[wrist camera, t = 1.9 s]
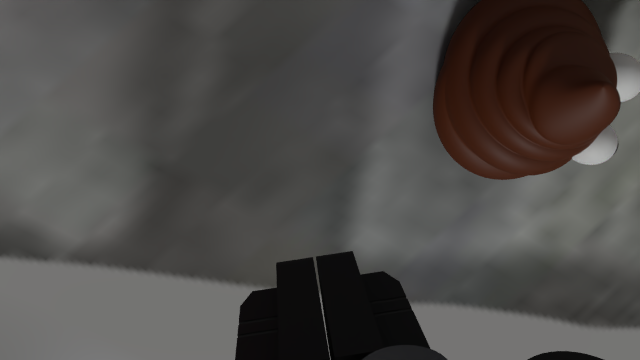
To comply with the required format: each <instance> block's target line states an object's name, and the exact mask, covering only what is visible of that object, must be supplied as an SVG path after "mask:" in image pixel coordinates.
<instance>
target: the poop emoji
mask: <svg viewBox="0 0 640 360" xmlns="http://www.w3.org/2000/svg"><path fill="white" fill-rule="evenodd" d="M638 93H640V63H639V62H638V61H637V60H636V59H635V58H633V57H631V56H629V55H627V54H623V53H609V51H608V49H607V46H606V44H605V42H604V40H603V38H602V35H601V32H600V29H599V27H598V24H597V22H596V20H595V18H594V16H593V15H592V13H591V12H590V10H589V9H588V7H587V6H586V5H585V4H584V3H583V2H582V1H581V0H481V1H480V2H479V3H477V4H476V5H475V6H474V7H473V8H472V9H471V10H470V11H469V12H468V13H467V14H466V16H465V17H464V18H463V20H462V21H461V22H460V24H459V25H458V27H457V29H456V30H455V32H454V34H453V36H452V38H451V41H450V43H449V46H448V49H447V52H446V55H445V60H444V64H443V66H442V68H441V70H440V73H439V76H438V79H437V82H436V86H435V90H434V98H433V115H434V122H435V126H436V130H437V133H438V136H439V138H440V140H441V142H442V144H443V146H444V148H445V149H446V151H447V152H448V153H449V154H450V156H451V157H452V158H453V159H454V160H455V161H456V162H457V163H458V164H460V165H461V166H462V167H464V168H465V169H467V170H468V171H470V172H472V173H474V174H477V175H479V176H482V177H486V178H490V179H499V180H507V179H515V178H520V177H524V176H527V175H538V174H543V173H547V172H550V171H553V170H555V169H557V168H559V167H561V166H563V165H564V164H566V163H567V162H569V161H570V160H571V159H573V160H574V161H576V162H579V163H582V164H587V165H595V164H600V163H603V162H605V161H607V160H608V159H609V158H611V157H612V156H613V155H614V154H615V152H616V151H617V148H618V139H617V135H616V132H615V130H614V129H613V128H612V126H611V125H610V124H611V122H612V121H613V120H614V119H615V117H616V116H617V114H618V112H619V109H620V104H621V102H624V101H627V100H629V99H631V98H633V97H635V96H636V95H637V94H638Z"/></svg>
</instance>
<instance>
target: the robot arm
mask: <svg viewBox="0 0 640 360" xmlns="http://www.w3.org/2000/svg"><path fill="white" fill-rule="evenodd" d="M316 260H317V268H318V275H319V282H320V289H321V296H322V303H323V310H324V317H325V324H326V331H327V338H328V344H329V350H330V357H331V360H447V359H446V358H445V357H444V356H443V355H441V354H440V353H438V352H436V351H434V350H431V349H430V347H429V345H428V343H427V340H426V338H425V336H424V334H423V332H422V330H421V327H420V325H419V323H418V321H417V319H416V316H415V314H414V312H413V311H412V309H411V306H410V303H409V301H408V299H406V295H405V293H404V290H403V288H402V286H401V284H400V282H399V281H398V280H396V279H395V278H393V277H391V276H390V275H388V274H387V273H385V272H384V271H382V272H375V273H369V274H362V275H360V272H359V269H358V266H357V263H356V260H355V257H354V254H353V251H350V252H343V253H337V254H330V255H323V256H317V257H316ZM276 270H277V288H271V289H265V290H258V291H252V293H251V294H250V295H249V296H248V298H247V299H246V300H245V301H244V302H243V304H242V305H241V306H240V315H239V326H238V338H237V347H236V357H235V360H330V357H329V351H328V345H327V339H326V333H325V327H324V321H323V315H322V309H321V303H320V297H319V291H318V285H317V279H316V273H315V267H314V261H313V257H311V258H304V259H298V260H291V261H284V262H278V263H276ZM528 360H603V359H600V358H598V357H594V356H591V355H588V354H583V353H578V352H569V351H556V352H548V353H543V354H540V355H536V356H534V357H532V358H530V359H528Z"/></svg>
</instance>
